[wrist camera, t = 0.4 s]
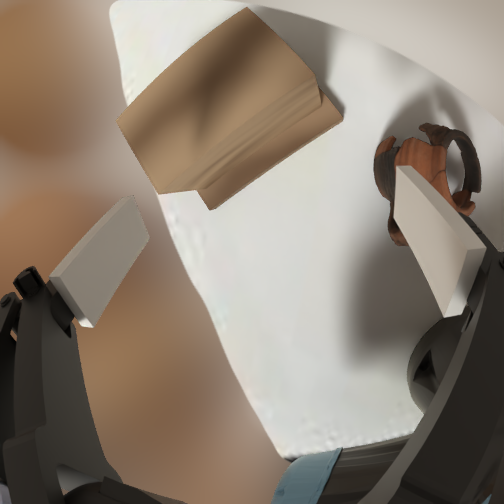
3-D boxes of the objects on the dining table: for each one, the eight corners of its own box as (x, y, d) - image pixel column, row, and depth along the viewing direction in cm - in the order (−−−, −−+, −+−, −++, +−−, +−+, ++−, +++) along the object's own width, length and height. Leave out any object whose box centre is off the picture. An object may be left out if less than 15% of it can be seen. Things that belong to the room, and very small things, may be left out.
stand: (342, 121, 24) (346, 90, 15) (215, 208, 30) (163, 223, 21) (271, 38, 23) (242, -12, 14) (161, 125, 29) (100, 114, 20)
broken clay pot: (381, 112, 23) (443, 96, 15) (435, 162, 26) (493, 161, 18) (341, 221, 24) (405, 235, 16) (404, 258, 27) (462, 278, 19)
